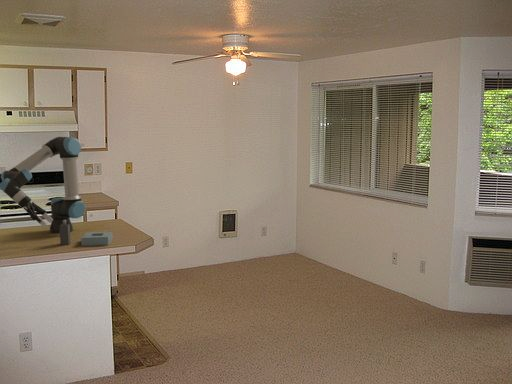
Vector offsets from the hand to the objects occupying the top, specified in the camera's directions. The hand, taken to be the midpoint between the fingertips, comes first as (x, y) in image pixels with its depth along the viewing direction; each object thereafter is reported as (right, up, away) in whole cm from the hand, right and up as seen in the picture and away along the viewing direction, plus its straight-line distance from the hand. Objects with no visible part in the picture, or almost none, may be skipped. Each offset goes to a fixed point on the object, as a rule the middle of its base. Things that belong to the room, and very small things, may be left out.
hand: (48, 223), depth 356 cm
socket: (+28, -12, +7) cm, 31 cm away
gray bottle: (+9, -13, +3) cm, 16 cm away
